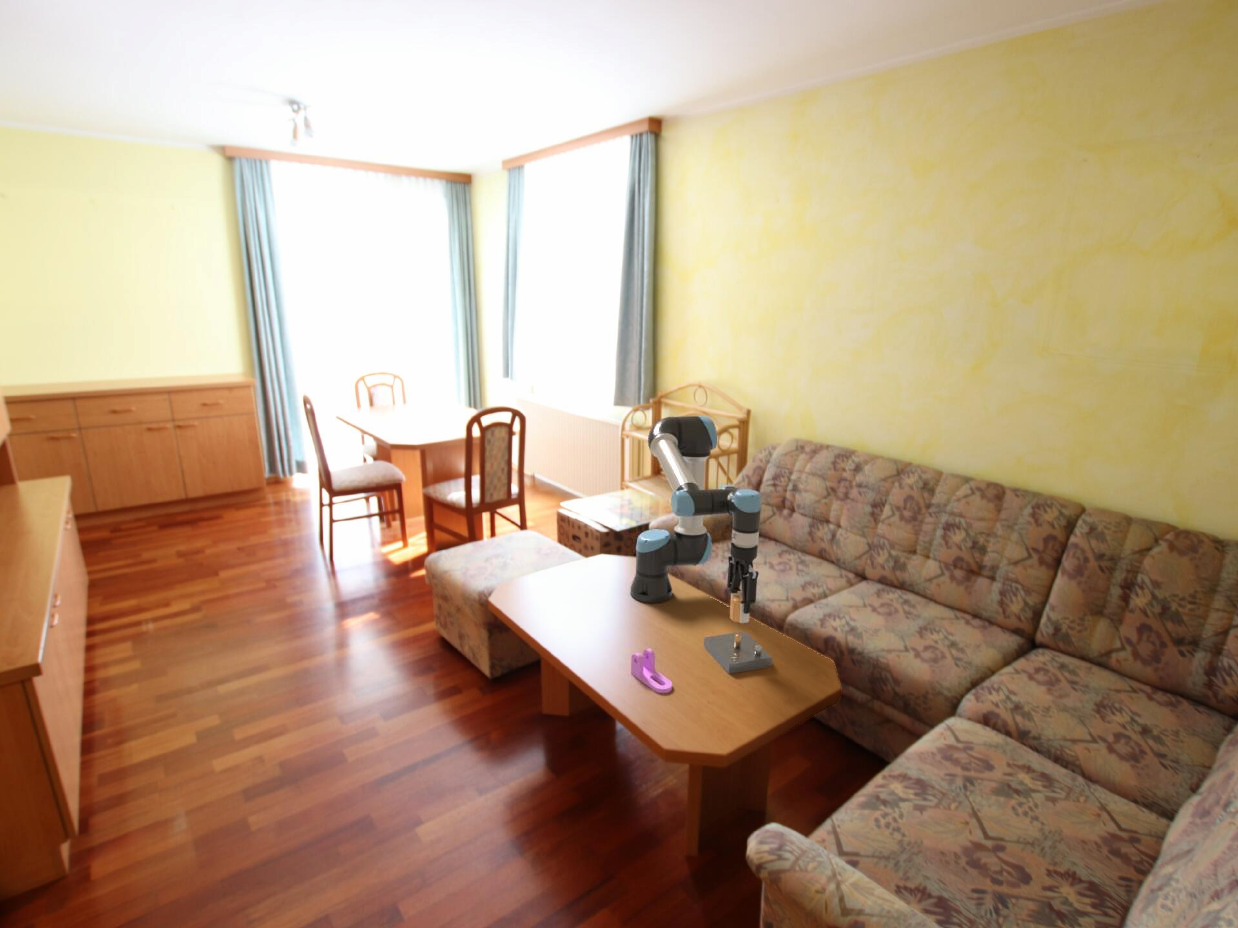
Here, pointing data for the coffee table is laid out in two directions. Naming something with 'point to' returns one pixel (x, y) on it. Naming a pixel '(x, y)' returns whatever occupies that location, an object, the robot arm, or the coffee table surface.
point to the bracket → (649, 672)
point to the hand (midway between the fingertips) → (739, 617)
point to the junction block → (737, 652)
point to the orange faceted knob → (735, 608)
